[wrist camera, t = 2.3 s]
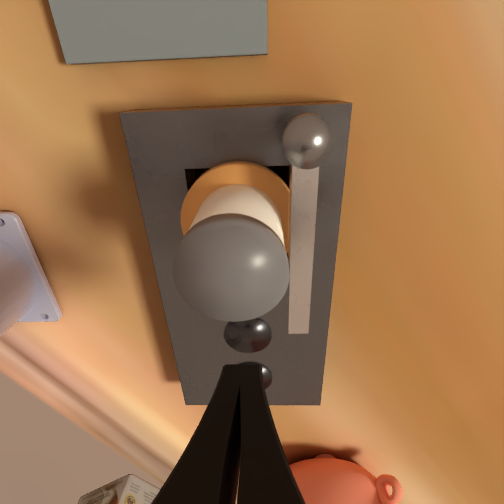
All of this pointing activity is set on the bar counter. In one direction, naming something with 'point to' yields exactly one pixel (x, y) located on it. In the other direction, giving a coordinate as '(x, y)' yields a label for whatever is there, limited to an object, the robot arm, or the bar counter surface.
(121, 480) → the coffee box
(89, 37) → the mat
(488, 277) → the bar counter surface
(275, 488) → the robot arm
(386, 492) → the sugar bowl
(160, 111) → the grey lever panel
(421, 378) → the bar counter surface
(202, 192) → the plug
